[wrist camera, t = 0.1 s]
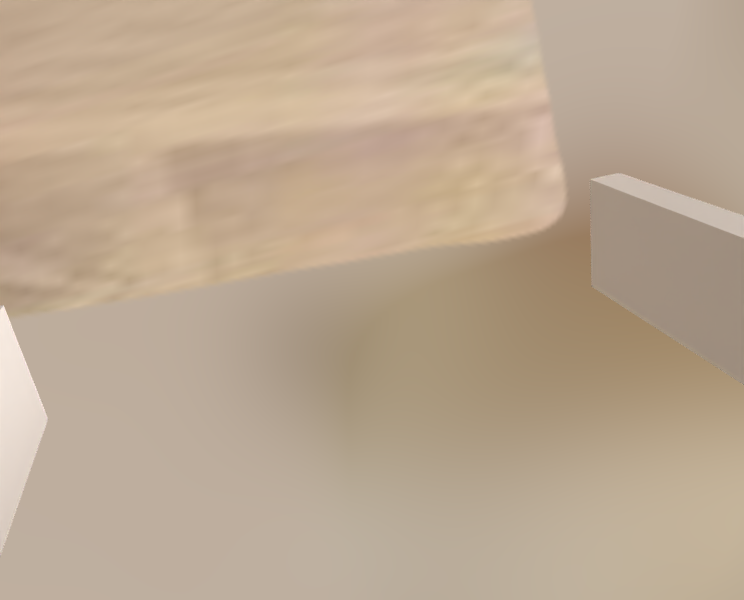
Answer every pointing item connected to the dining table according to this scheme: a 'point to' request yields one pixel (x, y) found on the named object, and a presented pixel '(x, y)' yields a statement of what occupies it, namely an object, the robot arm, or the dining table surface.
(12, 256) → the dining table surface
